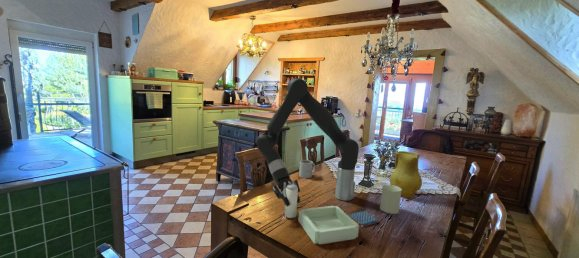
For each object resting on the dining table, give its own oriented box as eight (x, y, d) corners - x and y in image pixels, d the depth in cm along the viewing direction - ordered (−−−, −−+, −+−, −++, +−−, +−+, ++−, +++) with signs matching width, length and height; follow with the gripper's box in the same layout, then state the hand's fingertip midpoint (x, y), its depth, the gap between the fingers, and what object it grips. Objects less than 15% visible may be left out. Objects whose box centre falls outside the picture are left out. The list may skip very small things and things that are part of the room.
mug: (302, 178, 168) (303, 164, 167) (296, 174, 176) (297, 160, 174) (318, 177, 173) (319, 162, 172) (312, 172, 181) (313, 159, 179)
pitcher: (387, 195, 147) (394, 152, 144) (388, 186, 164) (394, 148, 161) (421, 202, 141) (428, 158, 138) (417, 192, 158) (424, 152, 155)
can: (398, 207, 133) (401, 185, 131) (399, 215, 125) (402, 192, 123) (379, 204, 136) (382, 182, 134) (379, 211, 127) (382, 188, 126)
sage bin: (335, 215, 121) (336, 205, 120) (358, 238, 103) (360, 226, 102) (297, 219, 115) (298, 209, 114) (315, 245, 97) (316, 232, 96)
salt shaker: (294, 211, 121) (295, 183, 118) (298, 217, 116) (299, 187, 113) (283, 212, 119) (284, 184, 117) (286, 218, 114) (288, 188, 112)
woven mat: (362, 213, 125) (363, 209, 125) (379, 224, 116) (380, 219, 116) (346, 217, 120) (346, 213, 120) (362, 229, 111) (363, 224, 111)
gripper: (269, 169, 115) (285, 204, 108) (294, 164, 124) (309, 196, 117) (262, 177, 120) (277, 211, 113) (286, 172, 129) (301, 203, 122)
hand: (293, 203), depth 115 cm, fingers closed on salt shaker, 5 cm apart
